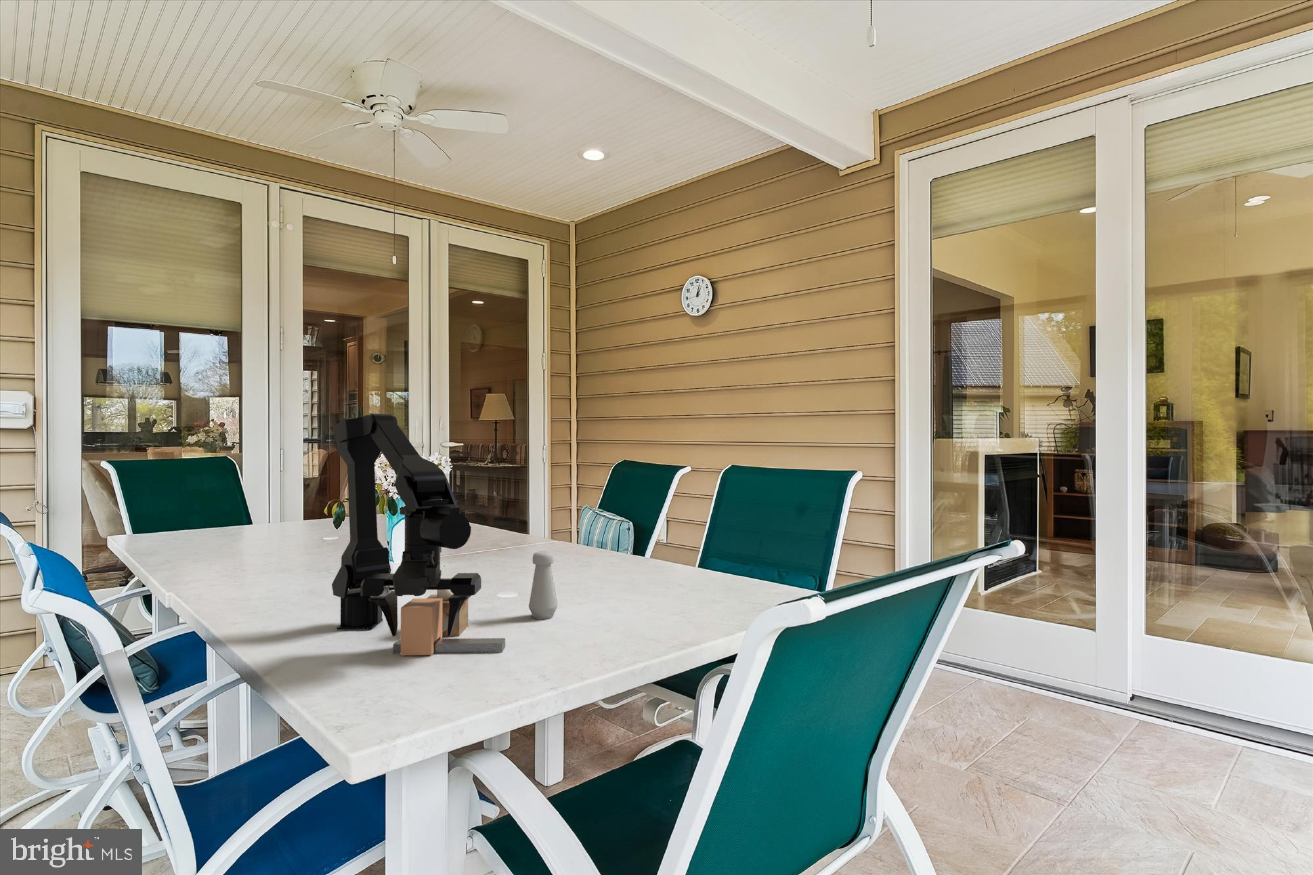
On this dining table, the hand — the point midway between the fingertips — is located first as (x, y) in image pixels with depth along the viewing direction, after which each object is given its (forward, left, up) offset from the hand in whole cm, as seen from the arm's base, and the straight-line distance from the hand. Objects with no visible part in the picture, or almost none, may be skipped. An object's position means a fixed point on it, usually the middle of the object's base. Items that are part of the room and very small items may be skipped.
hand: (422, 635), depth 117 cm
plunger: (+1, +12, +4) cm, 13 cm away
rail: (+5, 0, -2) cm, 5 cm away
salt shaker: (+18, +22, -3) cm, 28 cm away
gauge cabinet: (+1, +12, -2) cm, 12 cm away
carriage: (0, 0, -2) cm, 2 cm away
